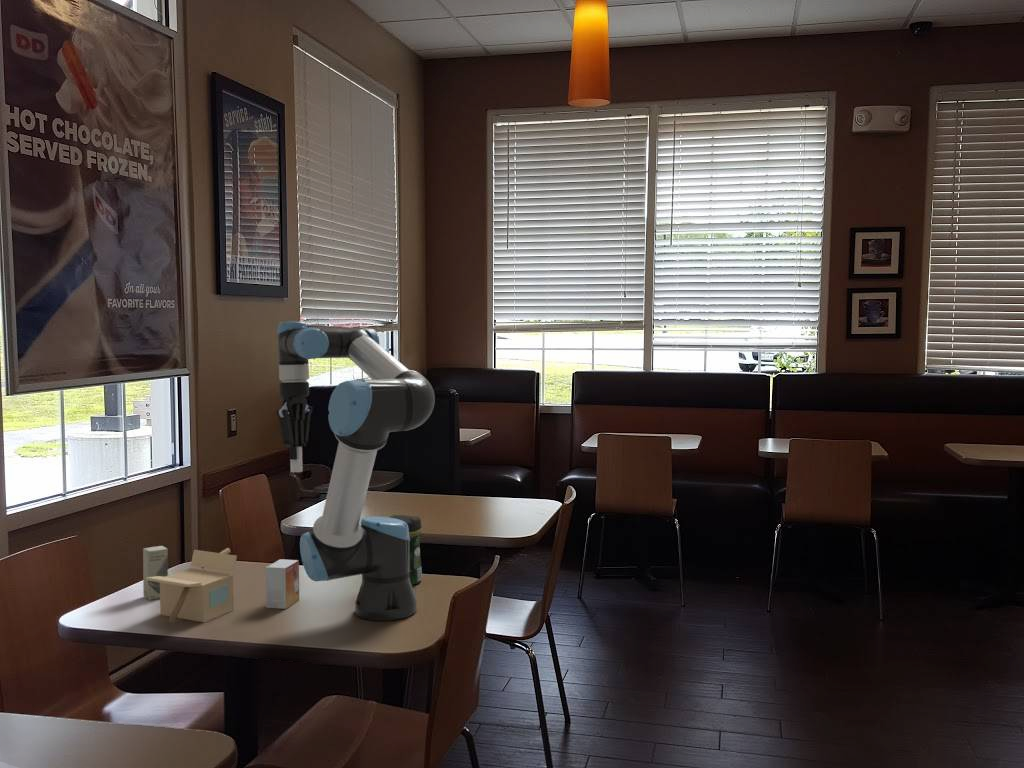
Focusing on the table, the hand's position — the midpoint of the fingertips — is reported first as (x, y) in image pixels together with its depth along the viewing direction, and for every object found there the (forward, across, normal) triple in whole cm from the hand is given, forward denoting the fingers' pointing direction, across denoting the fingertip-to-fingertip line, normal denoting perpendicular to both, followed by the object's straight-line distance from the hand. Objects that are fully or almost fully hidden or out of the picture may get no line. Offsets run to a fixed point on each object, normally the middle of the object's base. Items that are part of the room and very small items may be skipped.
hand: (296, 471), depth 227 cm
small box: (+33, +8, 0) cm, 34 cm away
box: (+32, +15, -34) cm, 49 cm away
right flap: (+20, +15, -15) cm, 29 cm away
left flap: (+23, +29, -16) cm, 40 cm away
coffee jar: (+33, -20, +20) cm, 44 cm away
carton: (+33, +21, -16) cm, 42 cm away
